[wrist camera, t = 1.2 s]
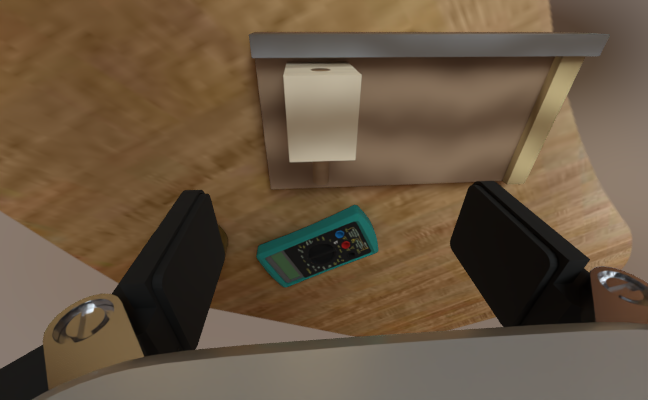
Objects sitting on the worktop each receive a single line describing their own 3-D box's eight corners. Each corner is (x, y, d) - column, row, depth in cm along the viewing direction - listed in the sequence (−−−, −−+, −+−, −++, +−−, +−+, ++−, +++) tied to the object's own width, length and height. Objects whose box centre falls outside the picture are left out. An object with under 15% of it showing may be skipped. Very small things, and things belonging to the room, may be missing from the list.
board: (255, 32, 22) (248, 34, 20) (573, 32, 24) (610, 34, 21) (272, 179, 30) (269, 197, 27) (512, 171, 32) (533, 186, 29)
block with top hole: (286, 62, 22) (283, 75, 17) (347, 61, 22) (361, 75, 17) (293, 162, 27) (292, 195, 22) (343, 161, 27) (352, 193, 23)
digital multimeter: (378, 238, 37) (384, 254, 35) (283, 276, 40) (282, 293, 37) (360, 199, 33) (364, 213, 31) (255, 243, 36) (252, 259, 34)
